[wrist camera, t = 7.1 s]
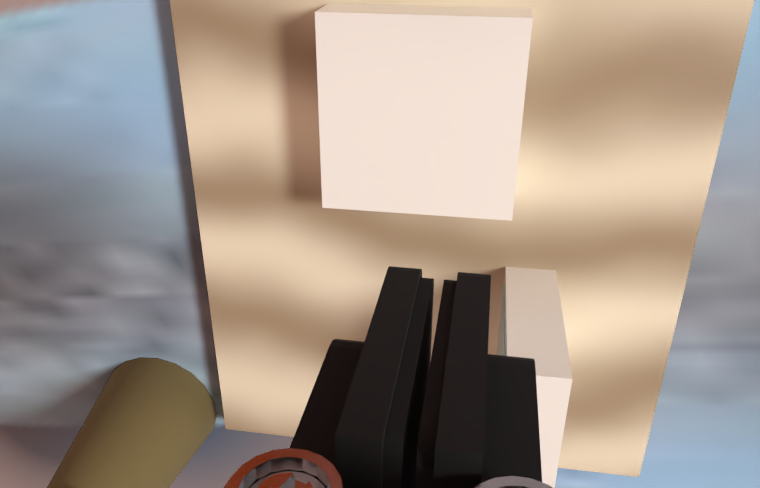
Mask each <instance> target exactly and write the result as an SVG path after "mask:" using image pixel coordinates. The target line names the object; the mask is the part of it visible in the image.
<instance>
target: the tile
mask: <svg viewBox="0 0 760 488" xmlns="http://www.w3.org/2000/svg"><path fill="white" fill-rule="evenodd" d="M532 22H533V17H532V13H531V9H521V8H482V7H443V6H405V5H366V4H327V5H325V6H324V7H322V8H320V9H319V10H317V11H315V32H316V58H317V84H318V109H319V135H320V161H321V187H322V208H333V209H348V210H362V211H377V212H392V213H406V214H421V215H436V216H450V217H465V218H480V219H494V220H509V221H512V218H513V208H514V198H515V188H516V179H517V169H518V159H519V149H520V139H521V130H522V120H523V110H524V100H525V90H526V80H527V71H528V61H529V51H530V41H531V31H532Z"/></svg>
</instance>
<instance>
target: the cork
mask: <svg viewBox="0 0 760 488" xmlns="http://www.w3.org/2000/svg"><path fill="white" fill-rule="evenodd" d="M215 420H216V410H215V406H214V401H213V399H212V397H211V395H210V394H209V392H208V391H207V389H206V387H205V386H204V385H203V384H202V383H201V382H200V381H199V380H198V379H197V378H196V377H195V376H194V375H193V374H192V373H190V372H189V371H187V370H185V369H183V368H182V367H180V366H178V365H177V364H174V363H171V362H168V361H164V360H161V359H158V358H137V359H134V360H130V361H126V362H124V363H123V364H122V365H120V366H119V367H118V368H116V369H115V370H114V371H113V373H112V375H111V377H110V378H109V380H108V382H107V384H106V385H105V387H104V389H103V391H102V392H101V394H100V396H99V398H98V399H97V401H96V403H95V405H94V406H93V408H92V410H91V412H90V413H89V415H88V417H87V419H86V420H85V422H84V424H83V426H82V427H81V429H80V431H79V433H78V434H77V436H76V438H75V440H74V441H73V443H72V445H71V446H70V448H69V450H68V452H67V453H66V455H65V457H64V459H63V461H62V462H61V464H60V466H59V467H58V469H57V471H56V473H55V474H54V476H53V478H52V480H51V481H50V483H49V485H48V487H47V488H169V486H170V485H171V484H172V482H173V481H174V480H175V478H176V477H177V476H178V474H179V473H180V472H181V471H182V469H183V468H184V467H185V466H186V464H187V463H188V462H189V460H190V459H191V458H192V456H193V455H194V454H195V453H196V451H197V450H198V449H199V447H200V446H201V445H202V444H203V442H204V441H205V440H206V438H207V437H208V436H209V434H210V433H211V431H212V430H213V428H214V426H215Z"/></svg>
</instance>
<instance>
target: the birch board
mask: <svg viewBox="0 0 760 488" xmlns="http://www.w3.org/2000/svg"><path fill="white" fill-rule="evenodd" d="M753 3H754V0H170V7H171V15H172V23H173V30H174V38H175V45H176V53H177V61H178V68H179V76H180V84H181V91H182V99H183V107H184V114H185V122H186V130H187V137H188V145H189V152H190V160H191V168H192V175H193V183H194V191H195V198H196V206H197V214H198V221H199V229H200V236H201V244H202V252H203V259H204V267H205V275H206V282H207V290H208V298H209V305H210V313H211V320H212V328H213V336H214V343H215V351H216V359H217V366H218V374H219V382H220V389H221V397H222V405H223V412H224V420H225V427H226V429H231V430H241V431H249V432H258V433H266V434H275V435H283V436H291V437H294V435H295V433H296V430H297V428H298V425H299V423H300V420H301V417H302V415H303V412H304V410H305V407H306V405H307V402H308V400H309V397H310V394H311V392H312V389H313V387H314V384H315V382H316V379H317V376H318V374H319V371H320V369H321V366H322V364H323V361H324V359H325V356H326V353H327V351H328V348H329V346H330V344H331V342H332V340H334V339H343V340H353V341H363V342H365V339H366V336H367V332H368V329H369V326H370V323H371V320H372V317H373V313H374V310H375V307H376V304H377V301H378V298H379V294H380V291H381V288H382V285H383V282H384V279H385V275H386V272H387V269H388V267H389V266H393V267H405V268H417V269H422V278H433V279H434V295H433V317H432V339H431V356H432V350H433V344H434V338H435V332H436V325H437V319H438V313H439V307H440V301H441V295H442V289H443V282H444V280H456V281H457V274H458V272H465V273H477V274H489V275H491V289H490V313H489V337H488V354H493V355H496V352H497V342H498V332H499V322H500V312H501V302H502V292H503V283H504V278H505V268H506V267H518V268H531V269H544V270H556V274H557V280H558V287H559V293H560V300H561V307H562V313H563V320H564V327H565V333H566V340H567V346H568V353H569V360H570V366H571V373H572V385H571V391H570V397H569V403H568V409H567V415H566V421H565V427H564V433H563V439H562V445H561V451H560V457H559V463H558V468H566V469H575V470H584V471H592V472H601V473H609V474H618V475H627V476H635V477H639V475H640V470H641V466H642V462H643V458H644V454H645V450H646V446H647V442H648V437H649V433H650V429H651V425H652V421H653V417H654V413H655V408H656V404H657V400H658V396H659V392H660V388H661V384H662V380H663V375H664V371H665V367H666V363H667V359H668V355H669V351H670V346H671V342H672V338H673V334H674V330H675V326H676V322H677V318H678V313H679V309H680V305H681V301H682V297H683V293H684V289H685V284H686V280H687V276H688V272H689V268H690V264H691V260H692V256H693V251H694V247H695V243H696V239H697V235H698V231H699V227H700V222H701V218H702V214H703V210H704V206H705V202H706V198H707V194H708V189H709V185H710V181H711V177H712V173H713V169H714V165H715V160H716V156H717V152H718V148H719V144H720V140H721V136H722V132H723V127H724V123H725V119H726V115H727V111H728V107H729V103H730V98H731V94H732V90H733V86H734V82H735V78H736V74H737V70H738V65H739V61H740V57H741V53H742V49H743V45H744V41H745V36H746V32H747V28H748V24H749V20H750V16H751V12H752V8H753ZM327 4H366V5H405V6H443V7H482V8H521V9H531V13H532V17H533V22H532V31H531V41H530V51H529V61H528V71H527V80H526V90H525V100H524V110H523V120H522V130H521V139H520V149H519V159H518V169H517V179H516V188H515V198H514V208H513V218H512V221H509V220H494V219H480V218H465V217H450V216H436V215H421V214H406V213H392V212H377V211H362V210H348V209H333V208H322V187H321V161H320V135H319V109H318V84H317V58H316V32H315V11H317V10H319V9H320V8H322V7H324V6H325V5H327ZM430 362H431V361H430Z"/></svg>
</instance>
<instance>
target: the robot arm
mask: <svg viewBox="0 0 760 488" xmlns="http://www.w3.org/2000/svg"><path fill="white" fill-rule="evenodd" d="M490 289H491V275H489V274H477V273H465V272H458V274H457V281H456V280H444V282H443V289H442V295H441V301H440V307H439V313H438V319H437V325H436V332H435V338H434V344H433V350H432V356H431V339H432V317H433V295H434V279H433V278H422V269H417V268H405V267H393V266H389V267H388V269H387V272H386V275H385V279H384V282H383V285H382V288H381V291H380V294H379V298H378V301H377V304H376V307H375V310H374V313H373V317H372V320H371V323H370V326H369V329H368V332H367V336H366V339H365V342H363V341H353V340H343V339H334V340H332V342H331V344H330V346H329V348H328V351H327V353H326V356H325V359H324V361H323V364H322V366H321V369H320V371H319V374H318V376H317V379H316V382H315V384H314V387H313V389H312V392H311V394H310V397H309V400H308V402H307V405H306V407H305V410H304V412H303V415H302V417H301V420H300V423H299V425H298V428H297V430H296V433H295V435H294V438H293V441H292V443H291V446H290V448H287V449H277V450H272V451H269V452H266V453H263V454H260V455H257V456H255V457H254V458H252V459H251V460H249V461H248V462H246V463H244V464H243V465H241V467H240V468H239V469H238V470H237V471H236V472H235V473H234V474H233V475H232V476H231V477H230V479H229V480H228V482H227V483H226V485H225V486H224V488H553V487H551V486H550V485H548V484H545V483H542V470H541V453H540V436H539V419H538V402H537V385H536V368H535V360H534V359H532V358H522V357H512V356H502V355H493V354H488V337H489V313H490ZM430 361H431V362H430Z"/></svg>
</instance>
